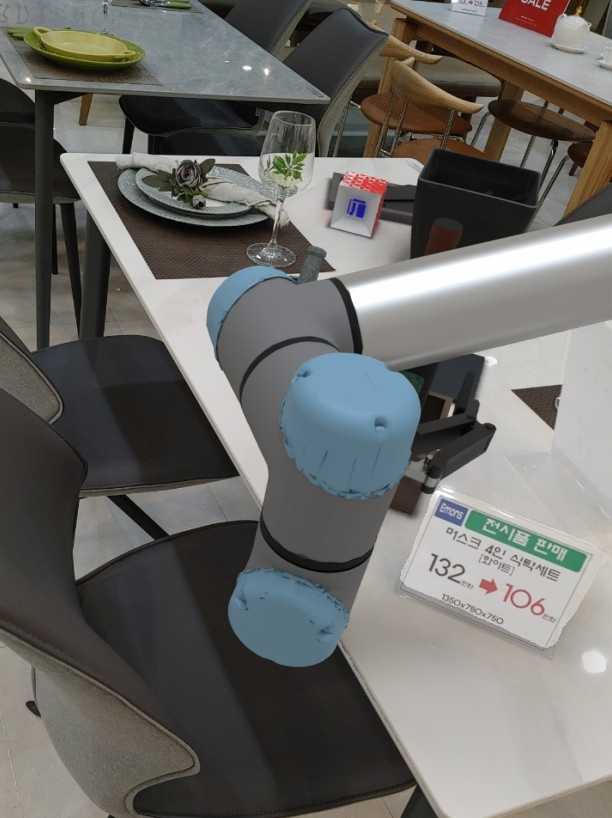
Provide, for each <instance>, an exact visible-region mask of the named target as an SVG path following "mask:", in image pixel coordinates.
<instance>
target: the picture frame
mask: <svg viewBox="0 0 612 818" xmlns="http://www.w3.org/2000/svg"><path fill="white" fill-rule="evenodd" d="M345 175H346V173H340V172H336V171H333V172H332V178H331V183H330V190H329V195H328V200H327V201H328V202H327V210H334V206H335V200H336V196H337V193H338V192H337V191H338V187H339V184H340V182H341V181H342V179H343V178H344V176H345ZM416 186H417V185H414V184H409V183H408V184H398V183H393V182H388V185H387V189H386V193H385V196H384V200H383V204H382V208H381V211H380V215H379V219H378V220H380V219H381V220H385V221H391V222H396V223H400V224H405V225H406V224H407V225H412V215H413V206H414V199H415V192H416Z"/></svg>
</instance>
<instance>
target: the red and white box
mask: <svg viewBox="0 0 612 818" xmlns="http://www.w3.org/2000/svg"><path fill="white" fill-rule="evenodd" d="M345 174H346V175H345V176H344V178H343V179H342V181H341V182H340V184H339V187H338V191H337V192H338V193H337V196H336V200H335V206H334V210H333V211H332V213H331V220H330V224H329V228H333V229H337V230H340V231H345V232H349V233H351V234H352V233H353V234H356V235H359V236H364V237H367V238H371V237H372V235H373V233H374V231H375V229H376V227H377V225H378V222H379V220H380V219H379V215H380V211H381V208H382V204H383V200H384V196H385V193H386V189H387V185H388V183H389V180H386V179H382V178H378V177H374V176H370V175H367V174H363V173H358V172H354V171H351V170H347V172H345Z"/></svg>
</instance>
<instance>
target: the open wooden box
mask: <svg viewBox="0 0 612 818" xmlns="http://www.w3.org/2000/svg"><path fill="white" fill-rule="evenodd" d="M452 401H453V398H451V397H447V396H444V395H441V394H438V393H435V392H432V391H429V393H428V396H427V399H426V401H425V404H424V407H423V409H422V412H421V415H420V420H419V423H418V425H419V424H423V423H427V422H431V421H434V420H438V419H442V418H446V417H449V414H450V410H451V407H452V404H453V402H452ZM437 451H438V450H435V451H432V452H428V453H424V454H421V455H417V456H414V457H411V461H414V462H418V461H420V460H422V459H425V458H426V456H427V455H432V456H434V455H435V453H436V452H437ZM420 485H421V482H419V481H416V480H414V479H412V478H409V477H407V476H404V477H402V478H401V479H400V482H399V484H398V487H397V489H396V492H395V494H394V496H393V499H392V501H391V504H390V506H389V508H393V509H395V510H398V511H401V512H404V513H407V514H410V515H413V513H414V511H415V508H416V506H417V504H418V501H419V499H420V496H421V494H422V491H421V490H420Z"/></svg>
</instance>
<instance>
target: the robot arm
mask: <svg viewBox="0 0 612 818" xmlns="http://www.w3.org/2000/svg"><path fill="white" fill-rule="evenodd" d="M205 320H206V322H205V326H206V329H207V332H208V337H209V340H210V341H211V344H212V347H213V354H214V359H215V361H216V362H217V364H218V367H219V368H220V370H221V372H223V374H224V376H225V377H226V379H227V382H228V383H229V386H230V387H231V389H232V392H233V393H234V395H235V397H236V400H237V401H238V403H239V405H240V409H241V411H242V415H243V417H244V418H245V420H246V423H247V425H248V427H249V430H250V432H251V434H252V436H253V438H254V441H255V442H256V445H257V447H258V449H259V451H260V454H261V456H262V457H263V459H264V461H265V464H266V467H267V474H268V475H267V476H268V477H267V482H266V485H265V486H266V487H265V492H264V496H263V502H262V506H261V510H260V515H259V519H258V524H257V528H256V533H255V537H254V541H253V546H252V549H251V554H250V556H249V558H248V560H247V563H246V566H244V567H245V568H244V569H243V571H240V572H239V574H238V576H237V577H236V585H235V588H234V590H233V592H232V594H231V596H230V599H229V602H228V607H227V616H228V621H229V624H230V626H231V629H232V630H233V633H234V634H235V635H236V637H237V638H238V639H239V641H240V642H241V643H242V644H243V645H244V646H245V647H246V648H247V649H249V650H250V651H251V652H252V653H254V654H255V655H257V656H259V657H261V658H263V659H267V660H270V661H272V662H274V663H276V664H277V665H281V666H286V667H294V668H305V667H310V666H315V665H317V664H320V663H322V662H324V661H325V660H326V659H328V658H329V657H330V656H331V655H332V654H333V653H334V651H335V650H336V648H337V646H338V644H339V641H340V639H341V636H342V635H343V632H344V631H346V629H347V628H348V623H349V621H350V615H351V611H352V608H353V606H354V603H355V600H356V597H357V594H358V592H359V589H360V587H361V584H362V582H363V580H364V579H363V578H364V576H365V574H366V571H367V568H368V566H369V563H370V561H371V558H372V556H373V552H374V549H375V544H376V542H377V540H378V535H379V534H380V530H381V529H382V526H383V523H384V521H385V519H386V517H387V513H388V511H389V509H390V504H391V501H392V499H393V496H394V494H395V492H396V489H397V487H398V484H399V482H400V479H401V478H402V477H404V476H407V477H409V478H412V479H414V480H416V481H419V482H421V485H420V490H421V493H423V494H426V495H432V494H434V493H435V491H436V489H437V487H438V485H439V484H440V482H441V481H442V480H444V479H446V478H447V477H449V476H450V475H452V474H453V473H455V472H456V471H458V470H460V469H461V468H463V467H465V466H466V465H467V464H469V463H471V462H473V461H474V460H476V459H478V458H479V457H481V456H482V455H483V454H486V452H487V451H488V448H489V446H490V445H491V443H492V440H493V438H494V436H495V435H496V433H497V430H498V429H497V426H496V425H495V424H493V423H491V422H484V423H481V422H480V421H479V420H478V413H479V409H480V406H481V403H480V400H479V399H476V398H474V399H473V398H469V396H470V392H471V389H472V385H473V382H474V378H475V374H476V373H473V372H470V371H468V372H467V374H466V377H465V379H464V382H463V384H462V387H461V389H460V392H459V394H458V397H457V400H456V403H454V407H453V410H452V414H451V416H448V417H446V418H442V419H438V420H434V421H431V422H427V423H423V424H419V425H418V423H419V420H420V415H421V408H420V401H419V398H418V395H417V393H416V390H415V389H414V387H413V386H412V384H411V383H410V382H409V381H408V379H407V378H406V377H405V376H404V375H402V374H401V373H398V371H402V370H406V369H410V368H414V367H418V366H422V365H426V364H431V363H435V362H439V361H443V360H447V359H451V358H455V357H460V356H464V355H468V354H472V353H473V354H476V353H480V352H484V351H489V350H492V349H496V348H500V347H505V346H508V345H509V346H510V345H513V344H517V343H523V342H525V341H531V340H534V339H537V338H542V337H547V336H550V335H555V334H558V333H563V332H566V331H571V330H575V329H579V328H584V327H588V326H592V325H596V324H599V323H604V322H608V321H609V322H610V321H612V212H611V213H607V214H603V215H598V216H594V217H590V218H586V219H582V220H577V221H572V222H568V223H563V224H559V225H555V226H551V227H547V228H542V229H537V230H533V231H528V232H524V233H523V234H520V235H515V236H511V237H506V238H502V239H498V240H493V241H489V242H485V243H480V244H476V245H471V246H467V247H463V248H458V249H454V250H450V251H445V252H441V253H436V254H432V255H428V256H423V257H419V258H415V259H410V258H409V259H406V260H402V261H398V262H393V263H389V264H384V265H380V266H375V267H372V268H371V267H370V268H367V269H363V270H359V271H354V272H349V273H345V274H340V275H336V276H332V277H327V278H324V279H317V281H312V282H308V283H303V284H299V285H298V283H297V282H296V281H295V280H294V279H292V278H290V277H289V274H287V273H286V272H284V271H282V270H280V269H278V268H275V267H271V266H265V265H251V266H248V267H244V268H242V269H239V270H238V271H236V272H234V273H232V274H231V275H229V276H228V277H226V278H225V279H224V281H222V282H221V284H219V286H217V288H216V289H215V291H214V292H213V294H212V296H211V298H210V300H209V303H208V305H207V312H206V319H205ZM435 450H437V452H436V453H435V455H434V456H432V455H427V456H426V458H425V459H422V460H420V461H418V462H414V461H411V457H414V456H417V455H421V454H425V453H428V452H432V451H435Z"/></svg>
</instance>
